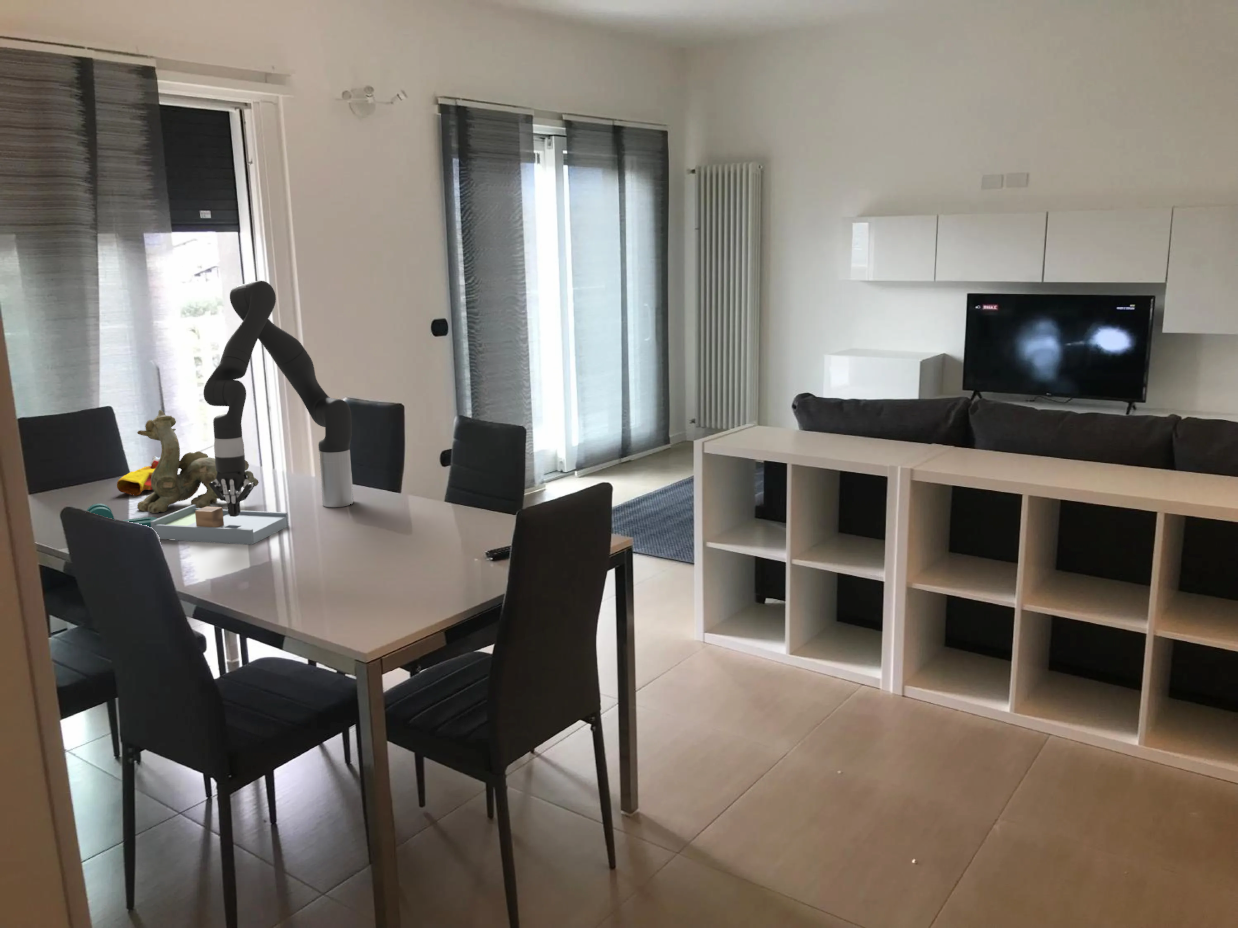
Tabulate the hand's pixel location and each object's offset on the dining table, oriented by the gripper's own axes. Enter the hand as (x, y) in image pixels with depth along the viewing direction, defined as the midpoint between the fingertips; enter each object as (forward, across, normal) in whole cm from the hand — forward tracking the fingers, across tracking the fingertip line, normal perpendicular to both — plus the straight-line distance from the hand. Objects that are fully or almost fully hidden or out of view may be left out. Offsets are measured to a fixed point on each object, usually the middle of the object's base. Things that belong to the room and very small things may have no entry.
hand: (234, 515), depth 271 cm
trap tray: (+6, +7, -5) cm, 10 cm away
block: (+3, +7, 0) cm, 8 cm away
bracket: (+7, +37, -2) cm, 38 cm away
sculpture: (+6, +34, -32) cm, 46 cm away
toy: (+6, +63, -53) cm, 82 cm away
